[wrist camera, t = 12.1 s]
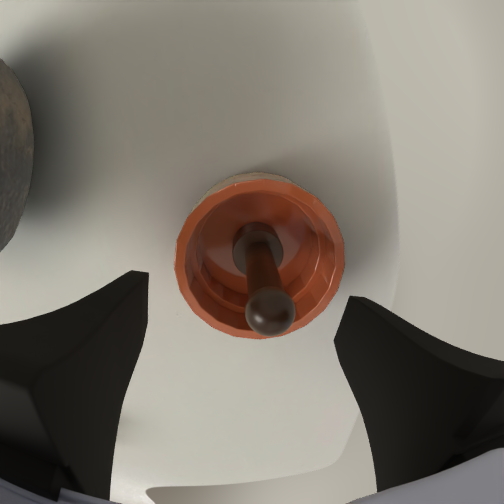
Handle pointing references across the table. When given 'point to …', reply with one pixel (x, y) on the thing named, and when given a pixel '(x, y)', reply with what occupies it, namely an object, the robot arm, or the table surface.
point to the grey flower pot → (13, 152)
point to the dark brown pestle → (263, 279)
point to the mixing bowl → (291, 237)
